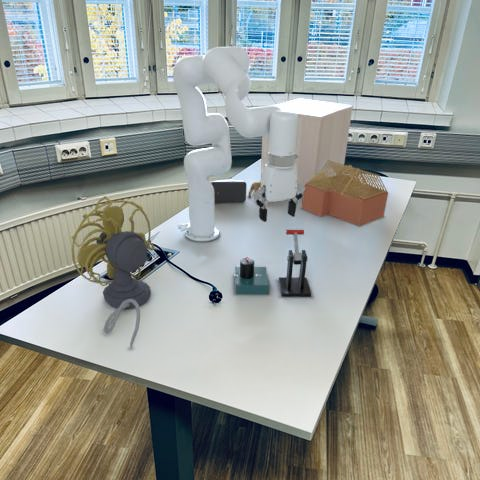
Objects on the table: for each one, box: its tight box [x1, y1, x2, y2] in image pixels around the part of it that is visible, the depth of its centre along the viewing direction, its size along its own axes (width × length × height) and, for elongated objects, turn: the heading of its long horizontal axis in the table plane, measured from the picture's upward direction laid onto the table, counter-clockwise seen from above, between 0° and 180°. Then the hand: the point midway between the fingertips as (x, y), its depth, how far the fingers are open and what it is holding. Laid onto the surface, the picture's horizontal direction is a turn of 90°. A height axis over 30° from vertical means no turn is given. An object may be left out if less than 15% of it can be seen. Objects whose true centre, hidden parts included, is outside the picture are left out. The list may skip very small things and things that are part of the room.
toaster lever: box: [285, 229, 305, 266], centre depth 142 cm, size 12×6×2 cm
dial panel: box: [233, 266, 270, 295], centre depth 146 cm, size 11×12×3 cm
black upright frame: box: [278, 249, 312, 298], centre depth 142 cm, size 10×9×12 cm
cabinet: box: [259, 98, 354, 192], centre depth 225 cm, size 35×29×34 cm
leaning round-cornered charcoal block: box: [210, 179, 247, 204], centre depth 205 cm, size 16×5×9 cm, turn 96°
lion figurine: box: [247, 181, 261, 199], centre depth 212 cm, size 15×5×9 cm, turn 137°
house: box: [301, 160, 389, 227], centre depth 194 cm, size 28×23×19 cm
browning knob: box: [239, 256, 255, 279], centre depth 144 cm, size 4×4×5 cm
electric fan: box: [71, 195, 155, 349], centre depth 125 cm, size 26×32×30 cm
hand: (277, 217), depth 138 cm, fingers open, 9 cm apart
